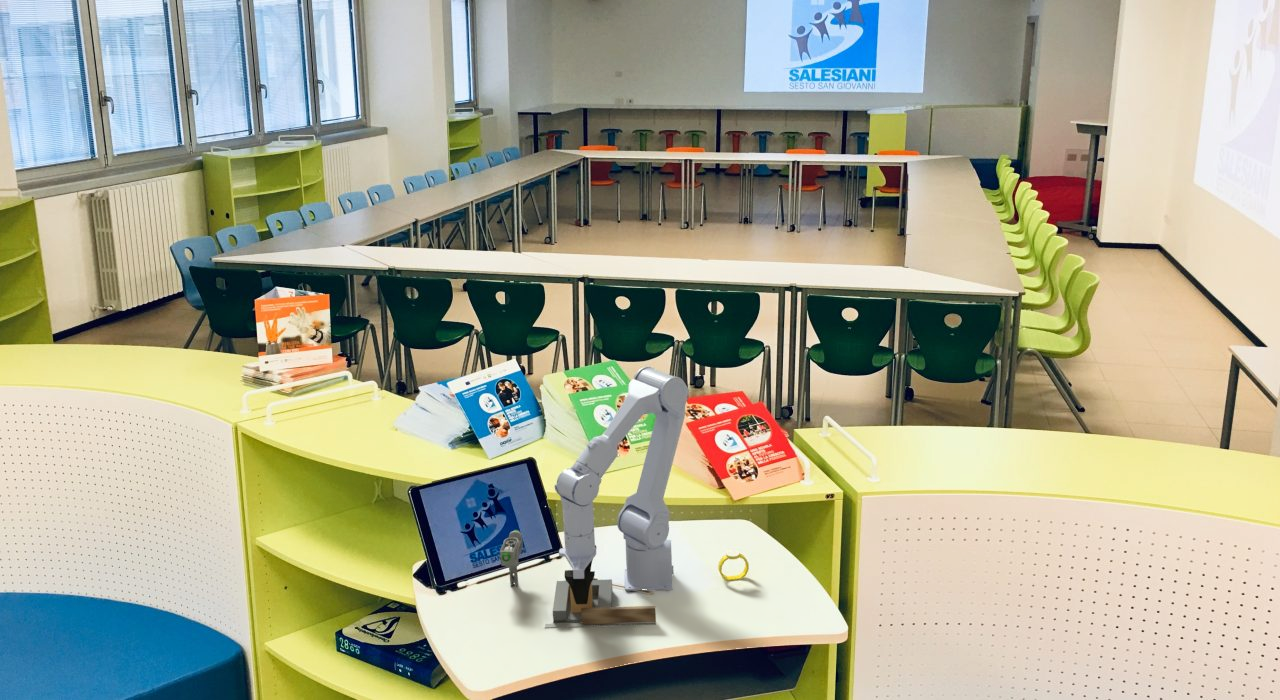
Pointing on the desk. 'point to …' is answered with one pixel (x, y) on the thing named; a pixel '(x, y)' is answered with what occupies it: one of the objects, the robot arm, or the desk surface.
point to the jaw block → (578, 607)
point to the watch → (733, 555)
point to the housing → (564, 615)
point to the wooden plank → (618, 615)
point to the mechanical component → (512, 554)
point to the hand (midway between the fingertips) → (582, 592)
